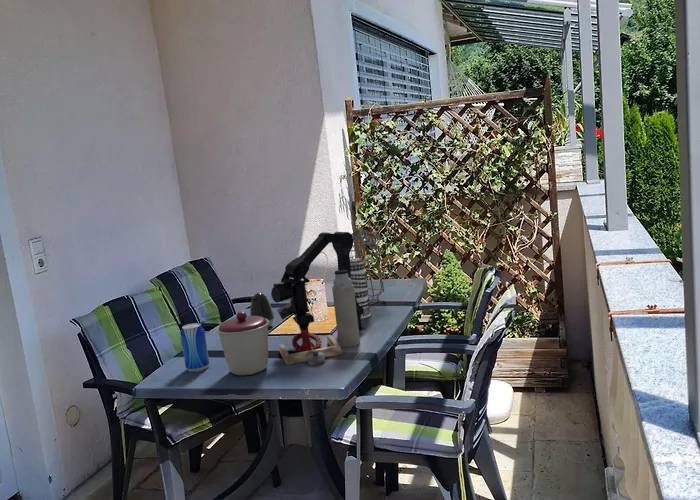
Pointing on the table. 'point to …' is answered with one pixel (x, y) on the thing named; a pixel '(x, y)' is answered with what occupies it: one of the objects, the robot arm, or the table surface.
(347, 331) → the thermos bottle
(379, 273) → the geometric lantern
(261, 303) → the dark grey rounded cone
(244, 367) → the canister
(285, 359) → the carrier
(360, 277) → the decorative candle
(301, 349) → the red cog wheel
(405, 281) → the table surface
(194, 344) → the beer can
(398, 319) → the table surface
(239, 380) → the table surface
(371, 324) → the table surface
